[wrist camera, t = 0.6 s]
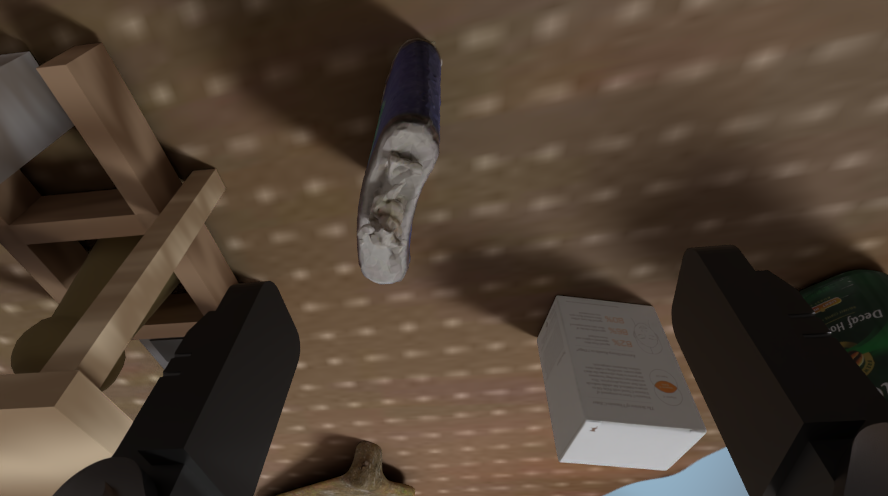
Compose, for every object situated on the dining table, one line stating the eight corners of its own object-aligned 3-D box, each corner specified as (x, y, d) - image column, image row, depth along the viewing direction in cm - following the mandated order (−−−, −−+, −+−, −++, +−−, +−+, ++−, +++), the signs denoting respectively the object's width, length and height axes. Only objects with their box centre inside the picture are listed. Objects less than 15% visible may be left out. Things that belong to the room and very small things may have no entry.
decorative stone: (362, 435, 52) (357, 486, 49) (458, 461, 60) (459, 506, 57) (248, 475, 65) (238, 516, 62) (340, 491, 74) (336, 529, 71)
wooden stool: (-29, 184, 31) (-354, 426, 18) (224, 160, 29) (53, 406, 17) (143, 373, 45) (23, 584, 32) (321, 363, 43) (267, 581, 31)
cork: (166, 212, 32) (66, 347, 24) (207, 276, 36) (133, 411, 28) (83, 220, 33) (-43, 354, 24) (133, 283, 37) (38, 416, 28)
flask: (415, 189, 30) (399, 319, 22) (368, 179, 30) (336, 308, 22) (449, 42, 24) (446, 148, 16) (392, 28, 24) (360, 129, 16)
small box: (534, 337, 40) (554, 463, 32) (555, 292, 36) (583, 421, 29) (626, 348, 41) (667, 474, 33) (655, 304, 37) (710, 434, 29)
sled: (-93, 66, 25) (-293, 154, 18) (102, 42, 24) (-35, 126, 18) (116, 311, 38) (43, 416, 31) (249, 302, 37) (203, 409, 30)
